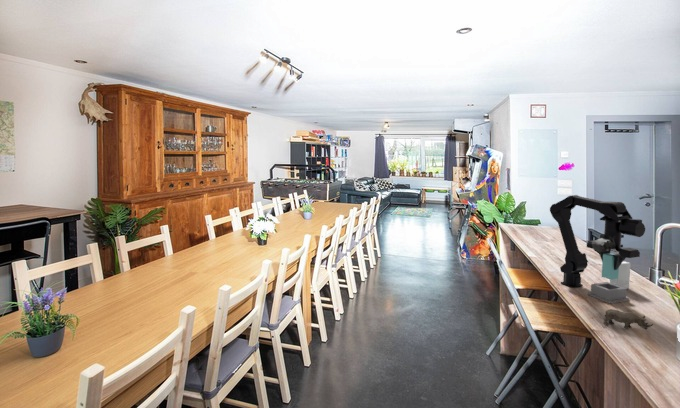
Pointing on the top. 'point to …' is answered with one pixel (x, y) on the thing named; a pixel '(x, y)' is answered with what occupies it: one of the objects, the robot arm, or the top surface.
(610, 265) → the teal peg
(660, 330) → the top surface
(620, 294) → the socket block
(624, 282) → the skincare box
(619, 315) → the rhino figurine
